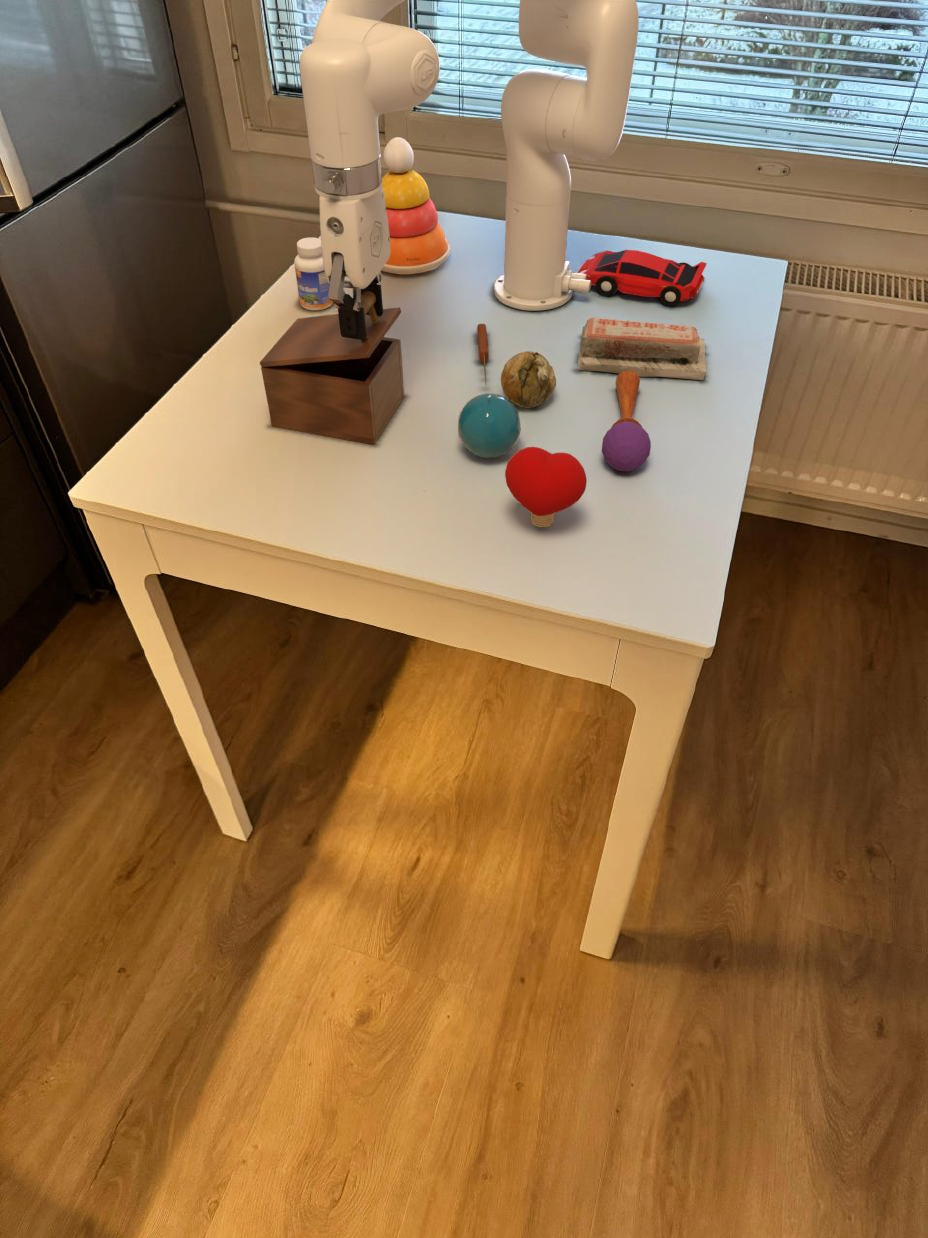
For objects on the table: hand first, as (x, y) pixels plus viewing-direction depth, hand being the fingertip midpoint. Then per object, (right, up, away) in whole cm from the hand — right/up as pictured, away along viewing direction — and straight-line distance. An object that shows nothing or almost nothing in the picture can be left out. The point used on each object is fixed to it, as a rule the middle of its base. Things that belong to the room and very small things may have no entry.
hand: (362, 324), depth 113 cm
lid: (-4, -1, +3) cm, 5 cm away
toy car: (+41, +17, +35) cm, 56 cm away
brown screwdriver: (+15, +1, +20) cm, 25 cm away
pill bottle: (-11, +13, +32) cm, 36 cm away
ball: (+16, -15, +4) cm, 22 cm away
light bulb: (+22, -26, -6) cm, 34 cm away
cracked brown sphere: (+22, -7, +13) cm, 26 cm away
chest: (-4, -8, +11) cm, 14 cm away
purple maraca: (+34, -12, +7) cm, 37 cm away
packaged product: (+38, +1, +20) cm, 43 cm away
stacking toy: (+3, +24, +42) cm, 48 cm away
